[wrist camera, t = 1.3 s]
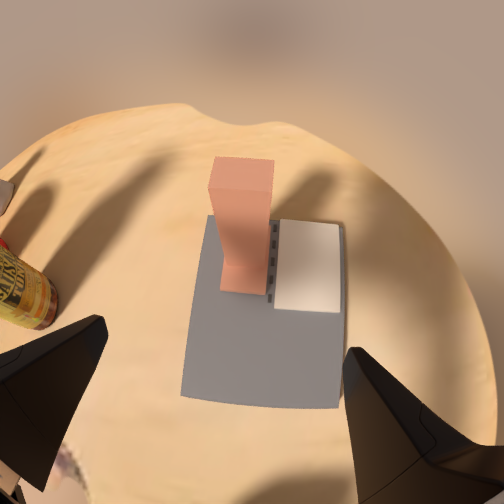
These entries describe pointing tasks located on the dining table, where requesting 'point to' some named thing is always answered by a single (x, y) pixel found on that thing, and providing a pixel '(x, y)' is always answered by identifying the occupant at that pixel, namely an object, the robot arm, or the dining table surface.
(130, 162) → the dining table surface
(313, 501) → the dining table surface
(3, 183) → the flask
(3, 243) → the canned food
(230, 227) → the stub
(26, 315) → the sauce bottle
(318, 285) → the ticket board
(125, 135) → the dining table surface
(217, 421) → the dining table surface
